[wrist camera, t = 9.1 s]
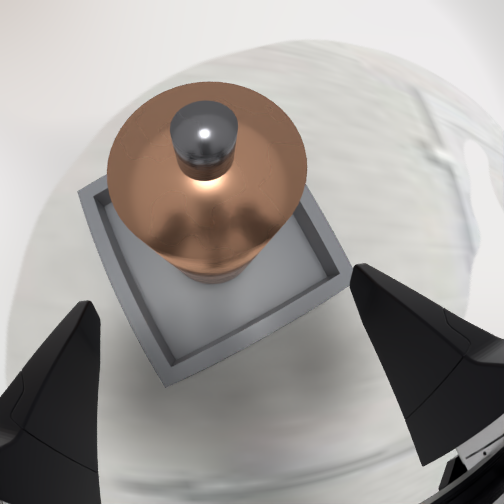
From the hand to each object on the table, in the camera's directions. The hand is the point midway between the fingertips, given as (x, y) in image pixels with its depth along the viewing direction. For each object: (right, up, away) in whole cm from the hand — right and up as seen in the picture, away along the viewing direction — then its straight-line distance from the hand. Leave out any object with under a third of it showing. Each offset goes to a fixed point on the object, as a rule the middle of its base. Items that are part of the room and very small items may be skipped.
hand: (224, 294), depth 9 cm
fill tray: (-2, +2, +11) cm, 11 cm away
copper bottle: (-2, +2, +10) cm, 11 cm away
